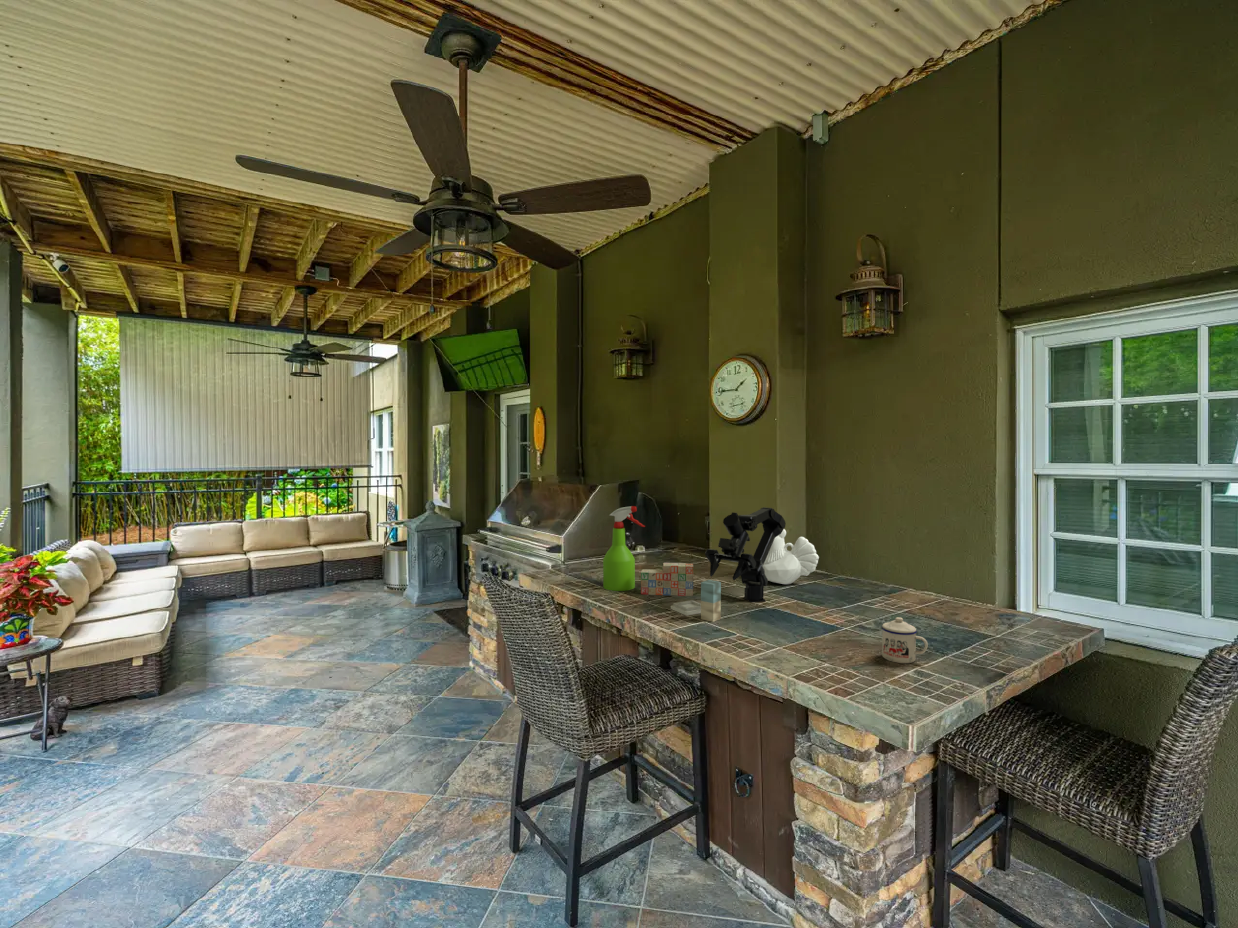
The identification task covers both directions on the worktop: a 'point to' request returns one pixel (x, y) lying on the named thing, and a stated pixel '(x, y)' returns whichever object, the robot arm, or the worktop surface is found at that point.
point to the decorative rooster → (789, 560)
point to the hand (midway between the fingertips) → (721, 577)
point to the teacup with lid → (900, 641)
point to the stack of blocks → (668, 580)
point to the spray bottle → (620, 555)
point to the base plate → (687, 607)
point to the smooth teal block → (710, 600)
